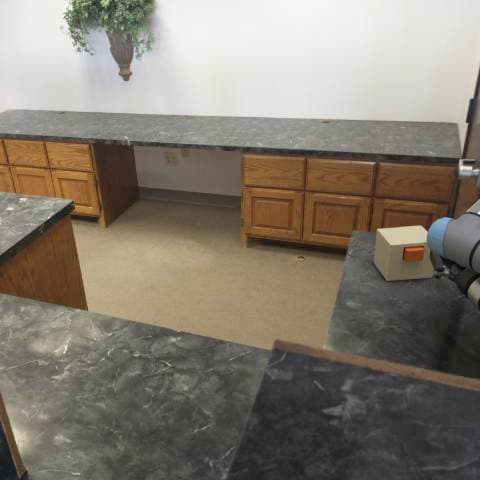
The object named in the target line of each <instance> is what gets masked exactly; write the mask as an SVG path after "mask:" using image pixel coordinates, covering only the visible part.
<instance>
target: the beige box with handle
mask: <svg viewBox="0 0 480 480" xmlns="http://www.w3.org/2000/svg"><path fill="white" fill-rule="evenodd" d="M427 233H428V230H427V229H426V228H424V227H423V226H422V225H410V226H397V227H383V228H377V229H376V234H375V235H376V237H375V244H374V245H375V246H374V257H373V264H374V265H375V267H376V268H377V270H378V271H379V272H380V273H381V275H382V276H383V277H384V279H385V280H386V281H387V282H390V281H391V282H393V281H405V280H417V279H430V278H433V276H434V268H433V265H432V263H431V261H430V258H429V257H430V249H429V247H428V245H427V241H426V238H427ZM419 246H421V247H422V248H423V249H424V257H423V260H420V261H408V262H406V261H405V260H404V259H403V254H404V248H407V247H419Z"/></svg>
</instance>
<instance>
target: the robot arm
mask: <svg viewBox="0 0 480 480" xmlns="http://www.w3.org/2000/svg"><path fill="white" fill-rule="evenodd" d="M427 232H428V233H427V238H426V241H427V245H428V247H429V249H430V257H429V258H430V261H431V263H432V265H433V268H434V269H433V271H434V278H435V279H437V280H439V279H441V278H442V277H443V278H444V277H445V278H448V280H449V281H451V282H453V283H455V285H456V287H457V289H458V291H459V292H460V293H461V294H462V295H463V296H464V297H465V298H466V299H467V300H468V301H469V302H470V303H471V304H472V305H473V306H474V307H475V308H476V309H477V310H478V311H479V312H480V198H479V199H478V200H477V201H476V202H475V203H474V204H473V205H472V206H471V207H469V209H467V210H466V211H465V212H463V213H462V214H461V215H460V216H459V217H457V218H456V219H455V218H453V217H445V216H444V217H441V218H438V219H436V220H435V221H434V222H432V224H431V226H430V227H429V228H428V230H427Z"/></svg>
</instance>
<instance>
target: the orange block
mask: <svg viewBox="0 0 480 480" xmlns="http://www.w3.org/2000/svg"><path fill="white" fill-rule="evenodd" d="M423 257H424V249H423V248H422V247H421V246H419V247H407V248H404V254H403V259H404V260H405V261H406V262H408V261H420V260H423Z"/></svg>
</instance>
